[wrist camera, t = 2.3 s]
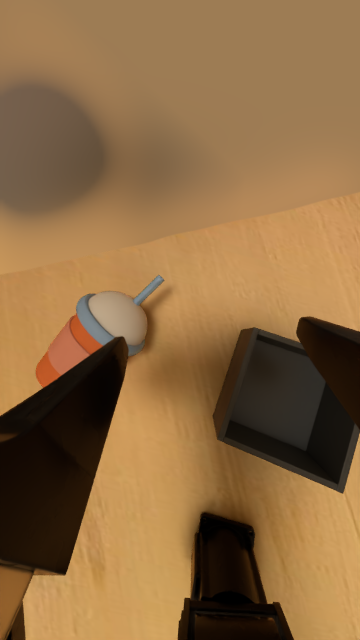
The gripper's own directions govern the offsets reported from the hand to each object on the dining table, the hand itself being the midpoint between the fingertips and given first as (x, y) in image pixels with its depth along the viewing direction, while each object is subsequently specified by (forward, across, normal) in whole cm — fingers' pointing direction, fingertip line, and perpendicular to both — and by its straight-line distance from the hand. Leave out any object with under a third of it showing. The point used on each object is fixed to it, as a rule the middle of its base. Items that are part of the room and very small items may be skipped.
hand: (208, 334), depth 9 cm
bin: (+8, -8, +16) cm, 19 cm away
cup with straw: (+8, +18, +10) cm, 23 cm away
